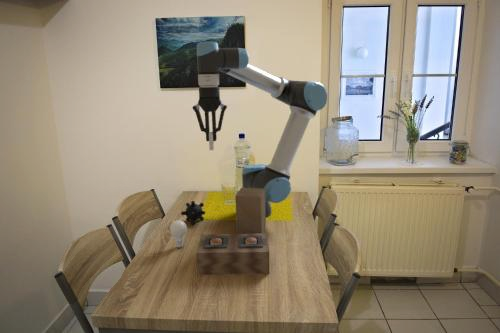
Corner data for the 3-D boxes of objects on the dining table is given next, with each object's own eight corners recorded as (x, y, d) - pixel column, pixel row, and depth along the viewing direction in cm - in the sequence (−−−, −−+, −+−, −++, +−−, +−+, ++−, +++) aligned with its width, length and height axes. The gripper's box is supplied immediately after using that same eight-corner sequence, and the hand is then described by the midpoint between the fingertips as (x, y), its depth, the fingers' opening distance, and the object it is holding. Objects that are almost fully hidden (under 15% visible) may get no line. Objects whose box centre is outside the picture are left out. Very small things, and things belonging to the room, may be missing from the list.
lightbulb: (179, 242, 148) (178, 216, 145) (191, 246, 144) (189, 219, 141) (167, 248, 143) (165, 221, 140) (179, 252, 139) (177, 225, 136)
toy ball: (212, 210, 172) (209, 213, 160) (196, 226, 172) (192, 231, 160) (195, 194, 172) (191, 196, 160) (179, 210, 172) (174, 214, 160)
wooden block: (261, 245, 143) (261, 196, 138) (236, 243, 145) (235, 195, 140) (265, 234, 153) (265, 188, 148) (242, 232, 155) (240, 187, 150)
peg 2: (249, 258, 133) (248, 236, 131) (258, 260, 131) (258, 238, 129) (243, 263, 130) (242, 240, 128) (253, 265, 128) (253, 243, 126)
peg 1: (215, 258, 133) (214, 236, 131) (224, 261, 131) (224, 239, 129) (209, 263, 130) (207, 241, 128) (218, 266, 128) (217, 243, 126)
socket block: (197, 274, 124) (196, 251, 122) (202, 254, 138) (201, 232, 135) (269, 273, 124) (269, 250, 122) (267, 253, 138) (267, 231, 135)
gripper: (189, 87, 132) (193, 152, 138) (226, 86, 132) (228, 151, 139) (192, 86, 140) (196, 147, 146) (227, 85, 140) (229, 147, 146)
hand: (211, 149), depth 142 cm, fingers closed
